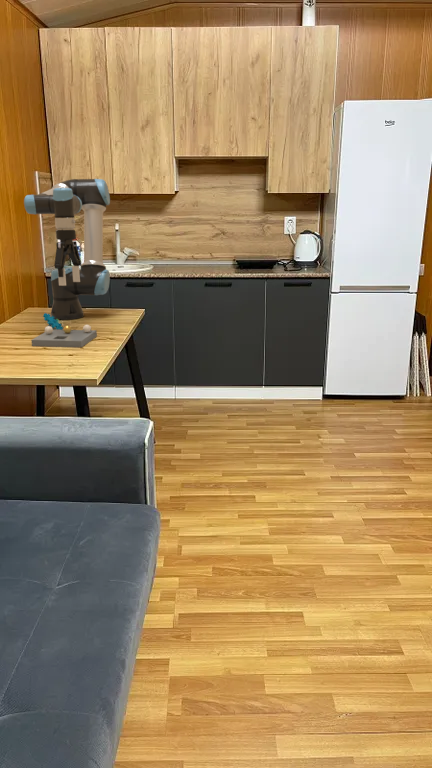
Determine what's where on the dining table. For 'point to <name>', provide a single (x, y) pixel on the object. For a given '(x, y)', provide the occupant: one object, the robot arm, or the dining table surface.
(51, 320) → the gear
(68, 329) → the ball
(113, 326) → the dining table surface
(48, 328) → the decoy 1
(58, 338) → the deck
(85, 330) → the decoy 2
